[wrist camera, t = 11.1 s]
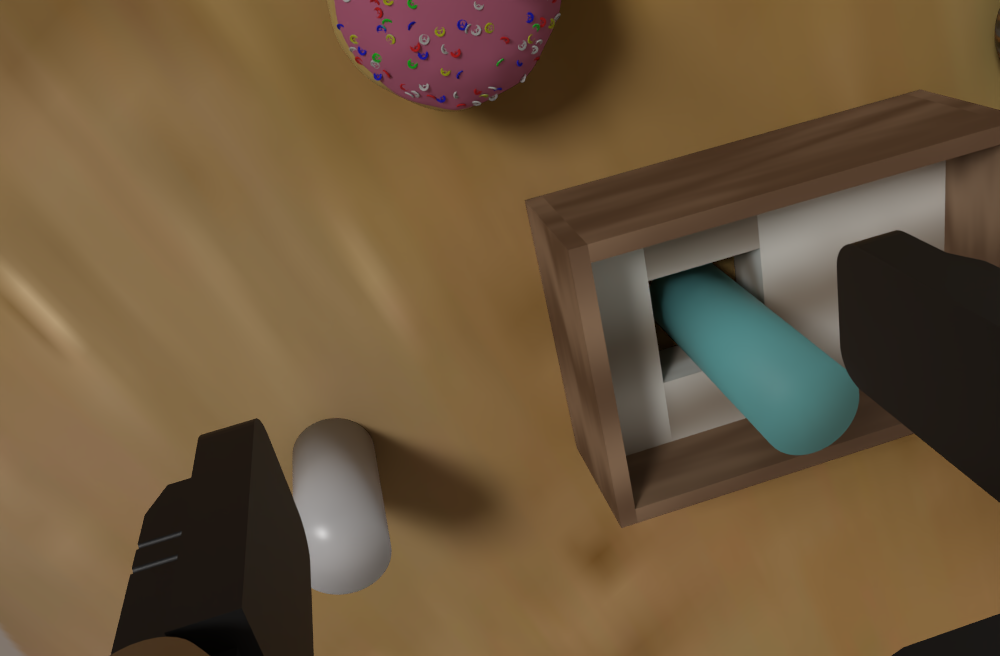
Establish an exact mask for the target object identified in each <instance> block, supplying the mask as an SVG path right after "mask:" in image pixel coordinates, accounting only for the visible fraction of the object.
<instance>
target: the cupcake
mask: <svg viewBox="0 0 1000 656" xmlns="http://www.w3.org/2000/svg"><path fill="white" fill-rule="evenodd" d="M327 3H328V7H329V12H330V17H331V21H332V26H333V29H334V32H335V35H336V37H337V40H338V42H339V44H340V45H341V47H342V49H343V50H344V52H345V53H346V54H347V56H348V57H349V59H350V60H351V61H352V62H353V64H354V65H355V66H356V67H357V68H358V69H359V70H360V71H361V72H362V73H363V74H364V75H365V76H366V77H367V78H368V79H370V80H371V81H372V82H374V83H375V84H377V85H379V86H380V87H382V88H384V89H386V90H388V91H390V92H392V93H394V94H396V95H398V96H400V97H402V98H404V99H406V100H409V101H411V102H413V103H415V104H418V105H420V106H423V107H426V108H430V109H434V110H439V111H461V110H465V109H468V108H470V107H473V106H475V105H476V106H479V105H481V103H483V102H485V101H487V100H490V101H494V100H496V99H497V97H498V95H499V94H500V93H502V92H504V91H506V90H507V89H509V88H511V87H513V86H514V85H516V84H518V83H519V82H520V81H521V82H522V83H523V82H524V81H525V79H526V76H527V75H528V74H529V73H530V72H531V70H532V69H533V67H534V66H535V64H536V62H537V61H538V60H539V59H540V55H541V52H542V50H543V48H544V46H545V44H546V42H547V40H548V38H549V36H550V34H551V32H552V30H553V28H554V26H555V23H556V21H557V20H558V19H559V17H560V16H561V14H560V13H559V11H560V5H561V0H327ZM493 97H495V98H493Z"/></svg>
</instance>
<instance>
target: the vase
mask: <svg viewBox="0 0 1000 656" xmlns="http://www.w3.org/2000/svg"><path fill="white" fill-rule="evenodd" d="M995 42H996V47H997V51H998V55H999V58H1000V9H999V12H998V16H997V20H996V26H995Z"/></svg>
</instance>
